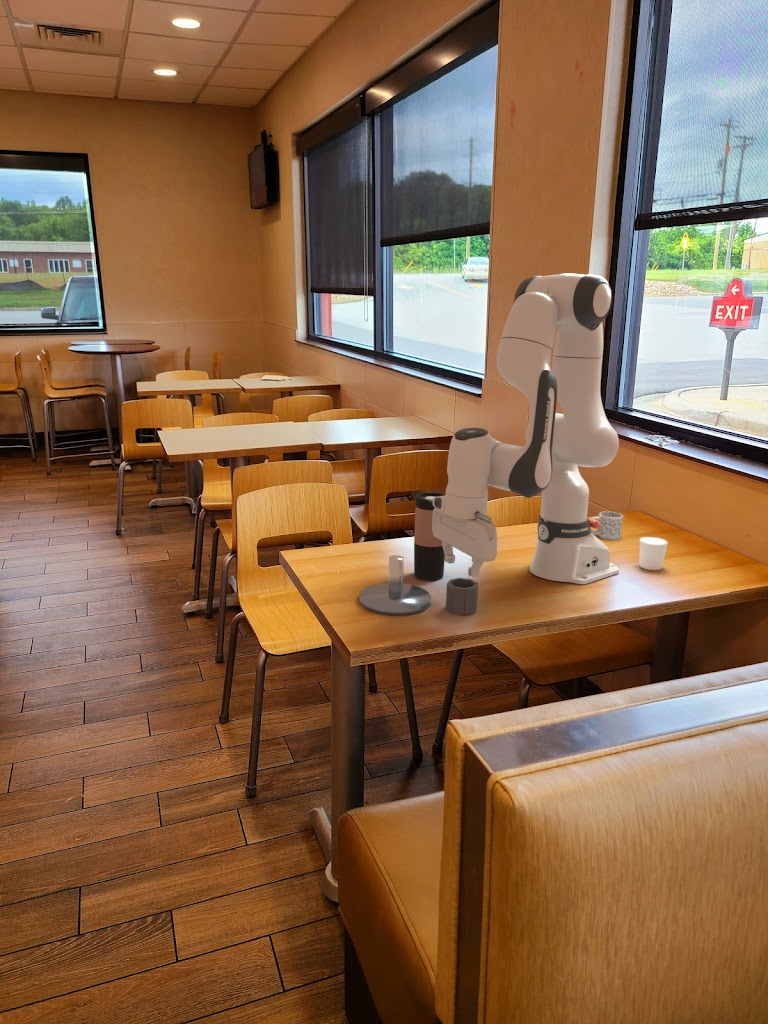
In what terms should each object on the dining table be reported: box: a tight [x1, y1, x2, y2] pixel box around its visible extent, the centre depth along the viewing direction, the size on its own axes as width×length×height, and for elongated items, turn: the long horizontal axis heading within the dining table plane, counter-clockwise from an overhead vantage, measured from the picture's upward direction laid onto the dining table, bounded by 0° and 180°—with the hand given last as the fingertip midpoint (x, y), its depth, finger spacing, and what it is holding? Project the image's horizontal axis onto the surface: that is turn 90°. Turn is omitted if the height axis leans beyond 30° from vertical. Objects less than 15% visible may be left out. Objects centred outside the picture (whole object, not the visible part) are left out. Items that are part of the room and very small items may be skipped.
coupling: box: [445, 577, 479, 616], centre depth 164 cm, size 6×6×6 cm
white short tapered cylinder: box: [638, 536, 669, 571], centre depth 193 cm, size 7×7×7 cm
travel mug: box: [413, 492, 446, 582], centre depth 182 cm, size 8×8×20 cm
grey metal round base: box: [358, 554, 432, 616], centre depth 167 cm, size 16×16×10 cm
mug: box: [588, 510, 624, 541], centre depth 218 cm, size 10×7×7 cm, turn 94°
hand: (461, 569), depth 162 cm, fingers open, 8 cm apart
